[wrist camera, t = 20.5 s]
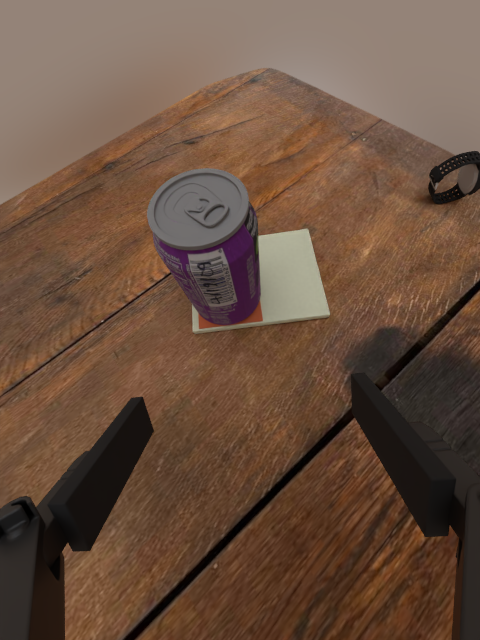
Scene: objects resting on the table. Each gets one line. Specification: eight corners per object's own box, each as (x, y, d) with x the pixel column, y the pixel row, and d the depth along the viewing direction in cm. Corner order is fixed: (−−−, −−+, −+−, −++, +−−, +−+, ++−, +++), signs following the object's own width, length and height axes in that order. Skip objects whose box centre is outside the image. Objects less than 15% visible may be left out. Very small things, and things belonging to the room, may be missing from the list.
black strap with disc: (460, 214, 27) (501, 173, 22) (411, 205, 28) (440, 164, 24) (463, 188, 28) (501, 144, 24) (416, 181, 29) (444, 138, 25)
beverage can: (273, 287, 25) (280, 186, 14) (234, 340, 23) (206, 274, 12) (221, 258, 27) (190, 150, 16) (181, 305, 25) (115, 221, 14)
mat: (307, 233, 28) (308, 227, 27) (328, 317, 24) (330, 314, 23) (192, 249, 29) (190, 244, 28) (194, 334, 25) (192, 331, 24)
